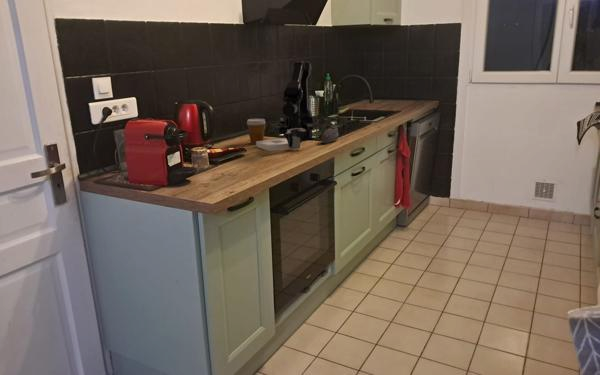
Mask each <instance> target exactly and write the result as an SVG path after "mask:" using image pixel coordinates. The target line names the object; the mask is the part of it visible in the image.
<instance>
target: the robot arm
mask: <svg viewBox="0 0 600 375" xmlns="http://www.w3.org/2000/svg"><path fill="white" fill-rule="evenodd" d="M311 71H312V63H311V62H309V61H303V60H302V61H294V62H293V63H292V74H291V78H290V81H289V82H288V83H286V86H285V88H284V92H283V100H282V102H283V103H285V102H286V103H285V104H284V105H283V106H282V113H283V115H285V118H284V117H280V118H277V121H278V122H277V123H278V126H274V127H273V133H275V134H279V135H283V136H284V138H286V139H287V141H288V144H289V147H291V146H292V137H293V133H292V132H291V131H295V132H296V136H297V137H300V144H301V143H302V141H309V140H314V137H313V131H314V128H315V126H316V125H315V119H314V116H313V114H312V111H311V110H310V108H309V88H308V87H309V86H308V79H309V77H310V76H311Z"/></svg>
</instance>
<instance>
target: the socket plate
mask: <svg viewBox="0 0 600 375" xmlns="http://www.w3.org/2000/svg"><path fill="white" fill-rule="evenodd" d="M255 146H256V147H257V148H260V149H263V150H265V151H268V152H274V151H280V150H287V149H289V150H290V148H289V144H288V141H287V139H286V137H282V138H275V139H267V140H266V139H265V140H264V141H256V145H255Z"/></svg>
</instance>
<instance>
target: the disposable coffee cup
mask: <svg viewBox="0 0 600 375" xmlns="http://www.w3.org/2000/svg"><path fill="white" fill-rule="evenodd" d="M246 125H247V129H248V135H249V140H250V144H251V145H255V146H256V141H264V139H265V137H264V136H265V128H266V127H265V126H266V119H264V118H249V119H247V121H246Z"/></svg>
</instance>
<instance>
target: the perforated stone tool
mask: <svg viewBox="0 0 600 375" xmlns="http://www.w3.org/2000/svg"><path fill="white" fill-rule="evenodd" d="M339 136H340V134H339V128H338V127H337V126H334V127H333V126H332V127H330V128H328V129H327V128H326V130H324V131H323V132H322V134H321V138H320V140H321V142H322V143H323V144H329V143H330V142H331V143H334V142H335V141H337V140H338V138H339Z"/></svg>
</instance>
